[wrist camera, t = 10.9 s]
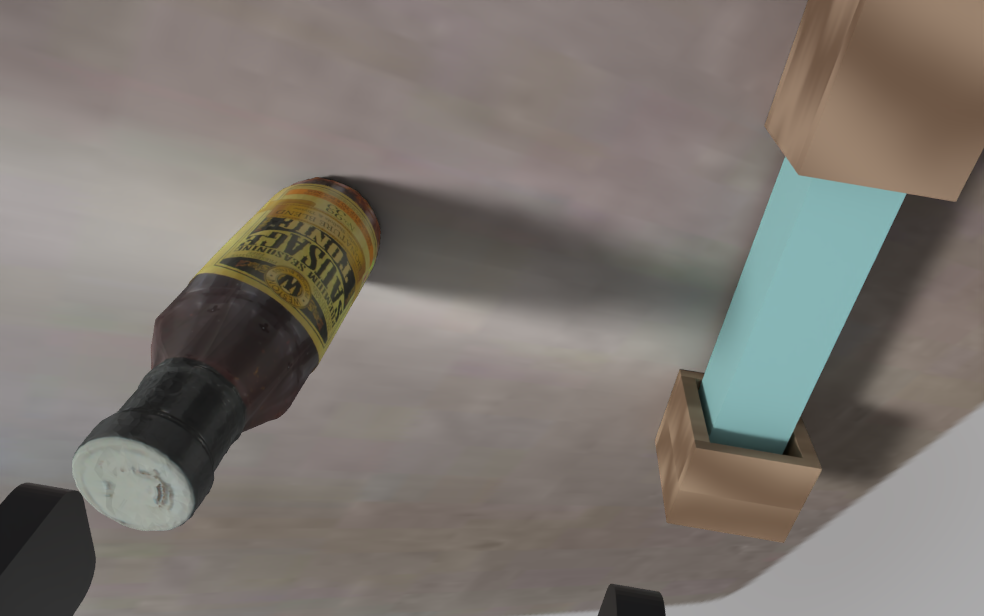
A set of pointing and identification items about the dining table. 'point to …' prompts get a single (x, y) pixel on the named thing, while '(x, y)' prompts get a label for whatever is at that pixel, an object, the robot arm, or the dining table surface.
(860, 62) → the wooden block
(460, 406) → the dining table surface
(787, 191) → the long turquoise beam
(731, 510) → the socket
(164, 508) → the sauce bottle
